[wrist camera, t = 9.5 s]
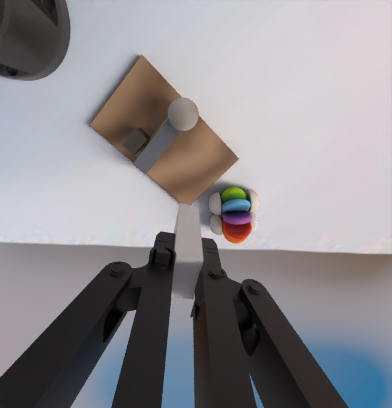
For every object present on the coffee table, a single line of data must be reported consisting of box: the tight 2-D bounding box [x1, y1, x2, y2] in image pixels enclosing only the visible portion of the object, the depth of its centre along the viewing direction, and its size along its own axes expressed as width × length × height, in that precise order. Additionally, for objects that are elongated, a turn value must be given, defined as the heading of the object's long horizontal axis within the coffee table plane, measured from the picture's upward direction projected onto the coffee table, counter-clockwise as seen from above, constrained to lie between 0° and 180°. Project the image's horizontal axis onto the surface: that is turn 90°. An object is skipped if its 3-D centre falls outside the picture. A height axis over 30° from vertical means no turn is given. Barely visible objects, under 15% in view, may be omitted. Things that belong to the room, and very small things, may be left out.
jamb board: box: [90, 55, 239, 205], centre depth 32 cm, size 20×13×5 cm, turn 46°
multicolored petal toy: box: [209, 187, 259, 243], centre depth 36 cm, size 8×10×7 cm
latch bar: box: [133, 119, 181, 174], centre depth 32 cm, size 8×2×3 cm, turn 139°
